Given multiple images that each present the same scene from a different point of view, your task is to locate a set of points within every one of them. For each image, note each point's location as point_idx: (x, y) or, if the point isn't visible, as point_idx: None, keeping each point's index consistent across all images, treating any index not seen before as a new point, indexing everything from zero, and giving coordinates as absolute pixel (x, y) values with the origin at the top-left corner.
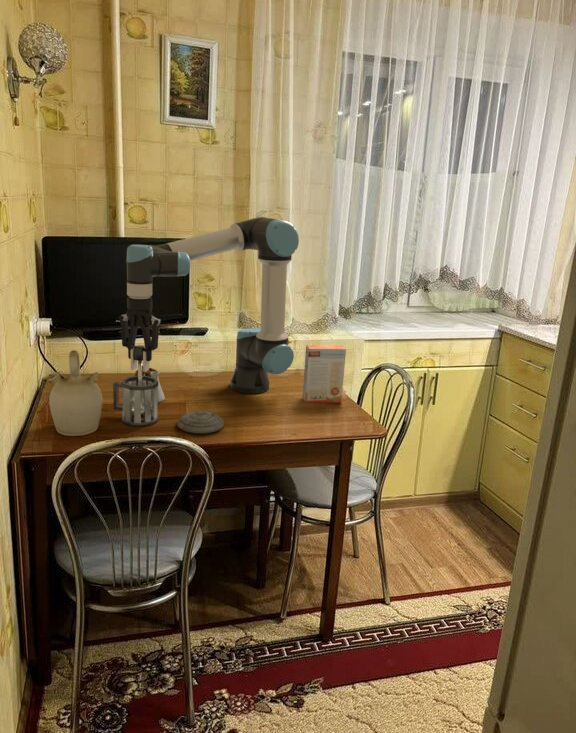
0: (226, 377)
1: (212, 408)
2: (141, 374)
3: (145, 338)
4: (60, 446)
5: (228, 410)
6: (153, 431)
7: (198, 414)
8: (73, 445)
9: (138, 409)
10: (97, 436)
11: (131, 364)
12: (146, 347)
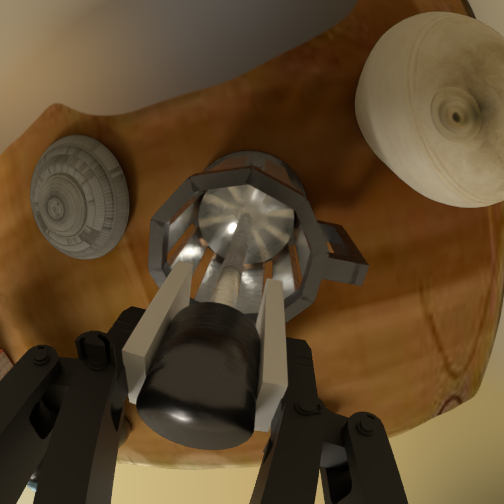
0: (155, 449)
1: (100, 318)
2: (219, 276)
3: (63, 467)
4: (399, 3)
5: (69, 310)
6: (182, 127)
7: (56, 193)
8: (372, 6)
9: (230, 160)
10: (335, 60)
11: (276, 299)
12: (93, 382)
